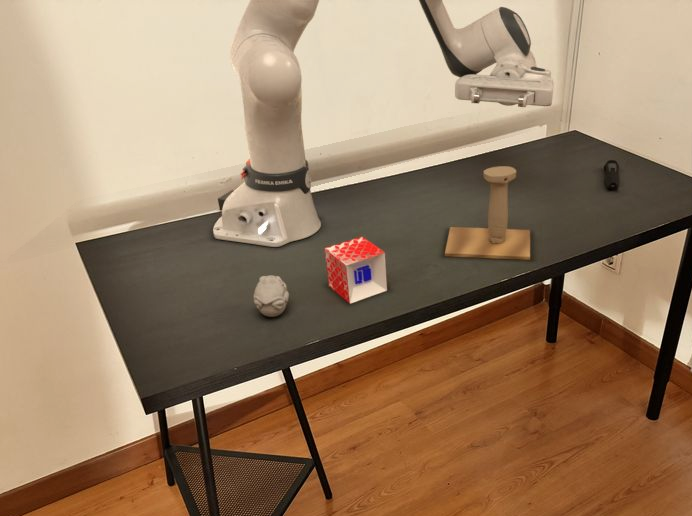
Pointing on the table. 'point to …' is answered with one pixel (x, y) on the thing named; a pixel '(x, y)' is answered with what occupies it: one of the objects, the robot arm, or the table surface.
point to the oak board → (487, 244)
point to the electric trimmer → (612, 174)
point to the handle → (498, 201)
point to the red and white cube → (356, 269)
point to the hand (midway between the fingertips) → (498, 101)
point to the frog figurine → (271, 295)
